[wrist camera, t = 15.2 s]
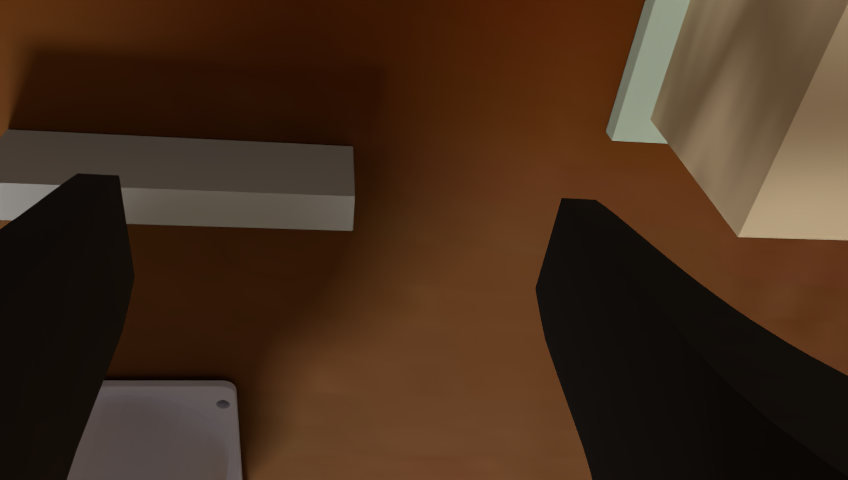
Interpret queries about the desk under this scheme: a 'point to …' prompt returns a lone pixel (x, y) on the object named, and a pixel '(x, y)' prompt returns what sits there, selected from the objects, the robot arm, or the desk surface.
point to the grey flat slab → (188, 178)
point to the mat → (646, 71)
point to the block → (763, 113)
